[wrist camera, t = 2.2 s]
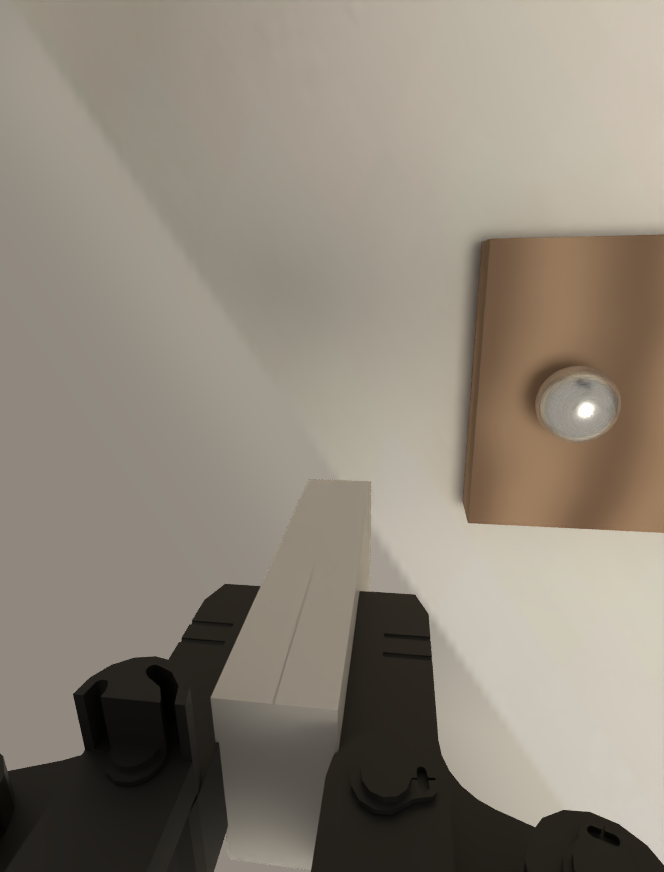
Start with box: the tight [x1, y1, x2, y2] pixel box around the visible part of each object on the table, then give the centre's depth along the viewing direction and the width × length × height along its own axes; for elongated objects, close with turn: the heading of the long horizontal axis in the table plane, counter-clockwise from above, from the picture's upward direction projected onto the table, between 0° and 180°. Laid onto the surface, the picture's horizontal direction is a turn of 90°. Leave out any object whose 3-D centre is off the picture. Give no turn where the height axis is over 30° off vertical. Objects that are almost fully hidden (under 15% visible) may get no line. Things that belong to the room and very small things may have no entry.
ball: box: [535, 366, 621, 443], centre depth 22 cm, size 3×3×3 cm
